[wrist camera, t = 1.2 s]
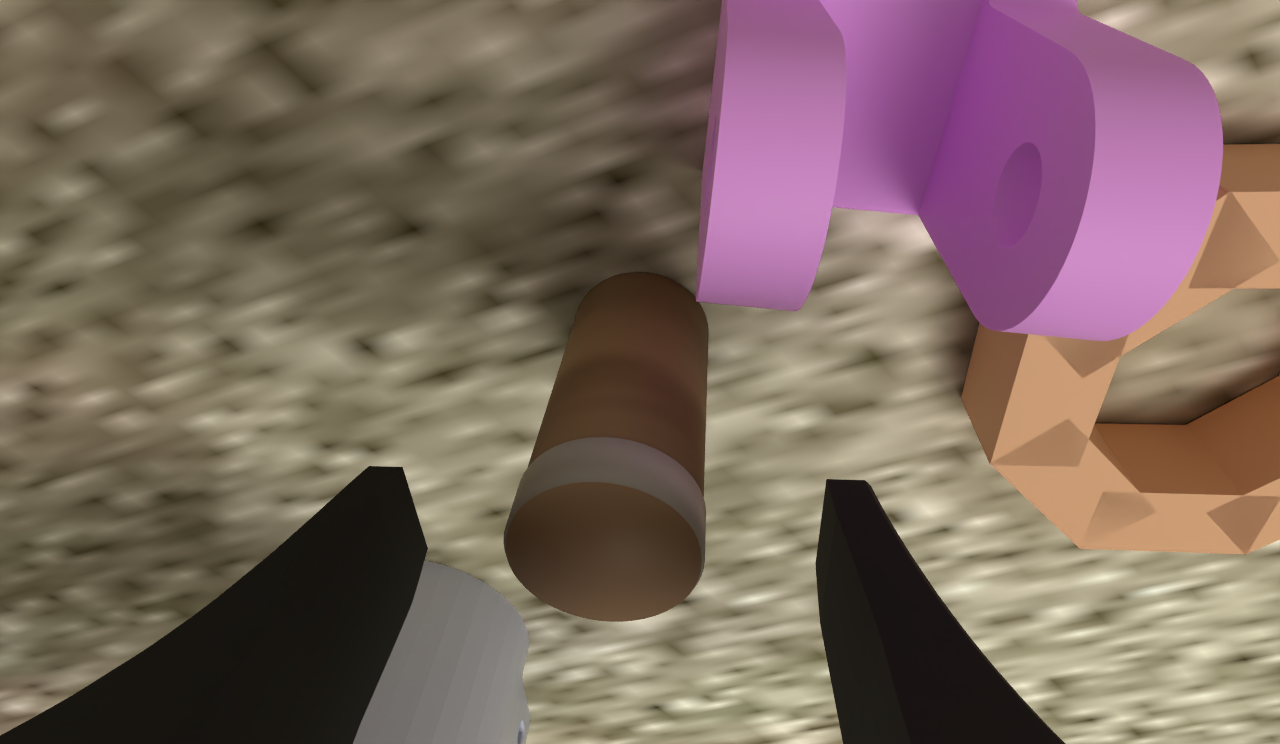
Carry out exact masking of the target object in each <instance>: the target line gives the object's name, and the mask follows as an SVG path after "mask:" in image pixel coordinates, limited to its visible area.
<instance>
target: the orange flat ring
mask: <svg viewBox="0 0 1280 744" xmlns="http://www.w3.org/2000/svg"><path fill="white" fill-rule="evenodd" d="M1234 288H1280V144H1231V145H1223V158H1222V171H1221V177H1220V184H1219V189H1218V194H1217V198H1216V203H1215V207H1214V210H1213V214H1212V217H1211V220H1210V223H1209V226H1208V229H1207V232H1206V234H1205V237H1204V240H1203V242H1202V244H1201V247H1200V249H1199V251H1198V253H1197V255H1196V258H1195V260H1194V261H1193V263H1192V265H1191V267H1190V269H1189V271H1188V273H1187V274H1186V276H1185V278H1184V279H1183V281H1182V282H1181V284H1180V285H1179V287H1178V288H1177V290H1176V291H1175V292H1174V294H1173V295H1172V296H1171V298H1170V299H1169V300H1168V302H1167V303H1166V304H1165V305H1164V306H1163V307H1162V308H1161V309H1160V310H1159V312H1158V313H1157V314H1156V315H1154V316H1153V317H1152V318H1151V319H1150V320H1149V321H1148V322H1147V323H1145V324H1144V325H1143V326H1141V327H1140V328H1139V329H1137V330H1135V331H1134V332H1132V333H1130V334H1128V335H1126V336H1124V337H1121V338H1118V339H1114V340H1110V341H1094V340H1083V339H1073V338H1063V337H1053V336H1043V335H1032V334H1022V333H1012V332H1002V331H994V330H990V329H988V328H986V327H984V326H983V325H982V324H980V323H979V327H978V331H977V335H976V339H975V343H974V347H973V351H972V355H971V359H970V363H969V368H968V372H967V376H966V380H965V384H964V388H963V392H962V396H961V399H962V402H963V404H964V406H965V409H966V411H967V413H968V415H969V418H970V420H971V422H972V425H973V427H974V429H975V431H976V434H977V436H978V438H979V440H980V443H981V445H982V447H983V450H984V452H985V454H986V456H987V459H988V461H989V463H990V465H992V466H993V467H994V468H995V469H996V470H997V471H998V472H999V473H1000V474H1001V475H1002V476H1004V477H1005V478H1006V479H1007V480H1008V481H1009V482H1010V483H1011V484H1012V485H1013V486H1014V487H1015V488H1016V489H1017V490H1018V491H1019V492H1021V493H1022V494H1023V495H1024V496H1025V497H1026V498H1027V499H1028V500H1029V501H1030V502H1031V503H1032V504H1033V505H1034V506H1035V507H1036V508H1037V509H1039V510H1040V511H1041V512H1042V513H1043V514H1044V515H1045V516H1046V517H1047V518H1048V519H1049V520H1050V521H1051V522H1052V523H1053V524H1054V525H1055V526H1057V527H1058V528H1059V529H1060V530H1061V531H1062V532H1063V533H1064V534H1065V535H1066V536H1067V537H1068V538H1069V539H1070V540H1071V541H1072V542H1074V543H1075V544H1076V545H1077V546H1078V548H1079V549H1108V550H1137V551H1167V552H1196V553H1225V554H1247V553H1250V552H1252V551H1254V550H1257V549H1259V548H1261V547H1263V546H1266V545H1268V544H1270V543H1273V542H1275V541H1277V540H1280V374H1279V376H1277V377H1276V378H1274V379H1272V380H1270V381H1268V382H1266V383H1264V384H1262V385H1260V386H1259V387H1257V388H1255V389H1253V390H1251V391H1249V392H1247V393H1245V394H1243V395H1242V396H1240V397H1238V398H1236V399H1234V400H1232V401H1230V402H1228V403H1226V404H1225V405H1223V406H1221V407H1219V408H1217V409H1215V410H1213V411H1211V412H1209V413H1208V414H1206V415H1204V416H1202V417H1200V418H1198V419H1196V420H1194V421H1192V422H1191V423H1189V424H1187V425H1155V424H1100V423H1095V422H1096V419H1097V416H1098V414H1099V411H1100V408H1101V406H1102V403H1103V401H1104V398H1105V395H1106V393H1107V390H1108V388H1109V385H1110V382H1111V380H1112V377H1113V375H1114V372H1115V369H1116V367H1117V364H1118V361H1119V359H1120V356H1121V355H1123V354H1125V353H1126V352H1128V351H1130V350H1132V349H1133V348H1135V347H1137V346H1138V345H1140V344H1142V343H1143V342H1145V341H1147V340H1148V339H1150V338H1152V337H1153V336H1155V335H1157V334H1158V333H1160V332H1162V331H1163V330H1165V329H1167V328H1168V327H1170V326H1172V325H1173V324H1175V323H1177V322H1178V321H1180V320H1182V319H1183V318H1185V317H1187V316H1188V315H1190V314H1192V313H1193V312H1195V311H1197V310H1198V309H1200V308H1202V307H1203V306H1205V305H1207V304H1209V303H1210V302H1212V301H1214V300H1215V299H1217V298H1219V297H1220V296H1222V295H1224V294H1225V293H1227V292H1229V291H1230V290H1232V289H1234Z"/></svg>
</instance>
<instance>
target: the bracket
mask: <svg viewBox="0 0 1280 744" xmlns="http://www.w3.org/2000/svg"><path fill="white" fill-rule="evenodd" d="M1222 158H1223V131H1222V121H1221V115H1220V111H1219V106H1218V102H1217V99H1216V96H1215V93H1214V91H1213V89H1212V87H1211V85H1210V83H1209V81H1208V80H1207V78H1206V77H1205V76H1204V74H1203V73H1202V72H1201V71H1200V70H1199V69H1198V68H1197V67H1196V66H1195V65H1193V64H1192V63H1190V62H1188V61H1186V60H1184V59H1182V58H1180V57H1177V56H1175V55H1173V54H1171V53H1168V52H1166V51H1164V50H1161V49H1159V48H1157V47H1155V46H1152V45H1150V44H1148V43H1146V42H1143V41H1141V40H1139V39H1137V38H1134V37H1132V36H1130V35H1127V34H1125V33H1123V32H1121V31H1118V30H1116V29H1114V28H1112V27H1109V26H1107V25H1105V24H1102V23H1100V22H1098V21H1096V20H1093V19H1091V18H1089V17H1087V16H1084V15H1082V14H1081V13H1080V12H1079V10H1078V8H1077V0H722V5H721V13H720V22H719V31H718V40H717V49H716V57H715V66H714V75H713V84H712V92H711V101H710V110H709V119H708V128H707V136H706V145H705V154H704V163H703V172H702V189H701V207H700V225H699V244H698V262H697V280H696V302H706V303H717V304H727V305H737V306H747V307H757V308H768V309H778V310H788V311H798V310H799V309H800V308H801V307H802V306H803V304H804V303H805V301H806V299H807V297H808V295H809V292H810V290H811V287H812V285H813V282H814V279H815V276H816V273H817V270H818V266H819V263H820V259H821V256H822V252H823V248H824V244H825V239H826V235H827V231H828V226H829V221H830V216H831V211H832V207H837V208H848V209H858V210H869V211H880V212H891V213H901V214H912V215H919V217H920V219H921V221H922V222H923V224H924V226H925V228H926V230H927V231H928V233H929V235H930V237H931V239H932V240H933V242H934V244H935V246H936V248H937V250H938V251H939V253H940V255H941V257H942V259H943V260H944V262H945V264H946V266H947V268H948V269H949V271H950V273H951V275H952V277H953V279H954V280H955V282H956V284H957V286H958V288H959V289H960V291H961V293H962V295H963V297H964V298H965V300H966V302H967V304H968V306H969V308H970V309H971V311H972V313H973V315H974V316H975V318H976V319H977V320H978V321H979V322H980V324H982V325H983V326H984V327H986V328H988V329H990V330H994V331H1002V332H1012V333H1022V334H1032V335H1043V336H1053V337H1063V338H1073V339H1083V340H1094V341H1110V340H1114V339H1118V338H1121V337H1124V336H1126V335H1128V334H1130V333H1132V332H1134V331H1135V330H1137V329H1139V328H1140V327H1141V326H1143V325H1144V324H1145V323H1147V322H1148V321H1149V320H1150V319H1151V318H1152V317H1153V316H1154V315H1156V314H1157V313H1158V312H1159V310H1160V309H1161V308H1162V307H1163V306H1164V305H1165V304H1166V303H1167V302H1168V300H1169V299H1170V298H1171V296H1172V295H1173V294H1174V292H1175V291H1176V290H1177V288H1178V287H1179V285H1180V284H1181V282H1182V281H1183V279H1184V278H1185V276H1186V274H1187V273H1188V271H1189V269H1190V267H1191V265H1192V263H1193V261H1194V260H1195V258H1196V255H1197V253H1198V251H1199V249H1200V247H1201V244H1202V242H1203V240H1204V237H1205V234H1206V232H1207V229H1208V226H1209V223H1210V220H1211V217H1212V214H1213V210H1214V207H1215V203H1216V198H1217V194H1218V189H1219V184H1220V177H1221V171H1222Z"/></svg>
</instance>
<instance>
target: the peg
mask: <svg viewBox="0 0 1280 744" xmlns="http://www.w3.org/2000/svg"><path fill="white" fill-rule="evenodd" d="M707 365H708V323H707V319H706V316H705V313H704V311H703V309H702V307H701V305H700V304H699V302H696V298H695V297H694V296H693V295H692V294H691V293H690V292H689V291H688V290H687V289H685V288H684V287H683V286H682V285H680V284H678V283H677V282H675V281H673V280H671V279H668V278H666V277H663V276H660V275H657V274H651V273H642V272H634V273H625V274H620V275H617V276H614V277H611V278H609V279H606V280H604V281H603V282H601V283H599V284H598V285H596V286H595V287H594V288H593V289H592V290H591V291H590V292H589V293H588V294H587V295H586V296H585V298H584V299H583V301H582V302H581V304H580V306H579V309H578V311H577V314H576V318H575V321H574V324H573V327H572V330H571V333H570V336H569V340H568V343H567V346H566V349H565V352H564V355H563V358H562V362H561V365H560V368H559V371H558V374H557V377H556V380H555V383H554V387H553V390H552V393H551V396H550V399H549V402H548V405H547V409H546V412H545V415H544V418H543V421H542V424H541V427H540V431H539V434H538V437H537V440H536V443H535V446H534V449H533V453H532V456H531V459H530V462H529V465H528V468H527V470H526V471H525V472H524V474H523V476H522V479H521V481H520V484H519V487H518V490H517V493H516V496H515V499H514V502H513V505H512V508H511V512H510V515H509V518H508V521H507V524H506V528H505V532H504V548H505V553H506V556H507V559H508V562H509V565H510V567H511V569H512V571H513V573H514V574H515V576H516V577H517V579H518V580H519V581H520V582H521V583H522V584H523V586H524V587H525V588H526V589H528V590H529V591H530V592H531V593H532V594H533V595H535V596H536V597H537V598H539V599H540V600H542V601H543V602H545V603H547V604H549V605H550V606H552V607H554V608H557V609H559V610H561V611H563V612H566V613H569V614H572V615H575V616H579V617H583V618H587V619H593V620H599V621H633V620H639V619H645V618H648V617H652V616H655V615H658V614H661V613H663V612H665V611H667V610H669V609H671V608H673V607H675V606H676V605H677V604H679V603H680V602H682V601H683V600H684V599H685V598H686V597H687V596H688V595H689V594H690V593H691V591H692V590H693V589H694V587H695V586H696V585H697V583H698V581H699V579H700V577H701V575H702V572H703V569H704V562H705V534H706V507H705V502H704V466H705V432H706V399H707Z"/></svg>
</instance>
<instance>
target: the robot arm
mask: <svg viewBox="0 0 1280 744" xmlns="http://www.w3.org/2000/svg"><path fill="white" fill-rule="evenodd" d="M427 549H428V548H427V545H426V541H425V538H424V535H423V532H422V528H421V525H420V522H419V519H418V516H417V512H416V509H415V506H414V503H413V499H412V496H411V493H410V490H409V487H408V483H407V480H406V477H405V474H404V470H403V467H378V466H369V467H368V468H366V469H365V470H364V471H363V472H362V473H361V474H359V475H358V476H357V477H356V478H355V479H354V480H353V481H352V482H350V483H349V484H348V485H347V486H346V487H345V488H344V489H343V490H342V491H341V492H339V493H338V494H337V495H336V496H335V497H334V498H333V499H332V500H331V501H330V502H328V503H327V504H326V505H325V506H324V507H323V508H322V509H321V510H320V511H319V512H317V513H316V514H315V515H314V516H313V517H312V518H311V519H310V520H309V521H308V522H306V523H305V524H304V525H303V526H302V527H301V528H300V529H298V530H297V531H296V532H295V533H294V534H293V535H292V536H291V537H289V538H288V539H287V540H286V541H285V542H284V543H283V544H282V545H280V546H279V547H278V548H277V549H276V550H275V551H274V552H272V553H271V554H270V555H269V556H268V557H267V558H265V559H264V560H263V561H262V562H260V563H259V564H258V565H257V566H256V567H254V568H253V569H252V570H251V571H249V572H248V573H247V574H246V575H245V576H243V577H242V578H241V579H240V580H238V581H237V582H236V583H235V584H234V585H232V586H231V587H230V588H229V589H227V590H226V591H225V592H224V593H223V594H221V595H220V596H219V597H218V598H216V599H215V600H214V601H212V602H211V603H210V604H208V605H207V606H206V607H205V608H203V609H202V610H200V611H199V612H198V613H196V614H195V615H194V616H192V617H191V618H190V619H188V620H187V621H186V622H184V623H183V624H181V625H180V626H178V627H177V628H176V629H174V630H173V631H171V632H170V633H169V634H167V635H166V636H164V637H163V638H161V639H160V640H159V641H157V642H156V643H154V644H153V645H151V646H150V647H148V648H147V649H145V650H144V651H142V652H141V653H139V654H138V655H136V656H135V657H133V658H131V659H130V660H128V661H127V662H125V663H123V664H122V665H120V666H119V667H117V668H115V669H114V670H112V671H111V672H109V673H108V674H106V675H104V676H103V677H101V678H100V679H98V680H96V681H95V682H93V683H92V684H90V685H89V686H87V687H85V688H84V689H82V690H81V691H79V692H77V693H76V694H74V695H72V696H70V697H69V698H67V699H65V700H64V701H62V702H60V703H58V704H57V705H55V706H53V707H51V708H50V709H48V710H46V711H44V712H43V713H41V714H39V715H37V716H36V717H34V718H32V719H30V720H28V721H26V722H25V723H23V724H21V725H19V726H17V727H15V728H13V729H12V730H10V731H8V732H6V733H4V734H2V735H1V736H0V744H525V743H526V738H527V734H528V729H529V724H530V712H529V708H528V704H527V699H526V695H525V691H524V686H523V679H522V676H523V669H524V665H525V661H526V657H527V653H528V648H529V638H528V632H527V629H526V627H525V624H524V622H523V619H522V618H521V616H520V615H519V614H518V612H517V611H516V609H515V608H514V606H512V605H511V604H510V603H509V602H508V601H507V600H506V599H505V598H504V597H503V596H502V595H501V594H500V593H499V592H497V591H496V590H494V589H493V588H491V587H490V586H489V585H487V584H486V583H484V582H482V581H481V580H479V579H477V578H475V577H473V576H471V575H469V574H467V573H465V572H462V571H459V570H457V569H454V568H451V567H449V566H446V565H442V564H438V563H434V562H429V561H425V556H426V553H427ZM816 576H817V589H818V602H819V614H820V624H821V630H822V635H823V640H824V646H825V651H826V656H827V662H828V667H829V672H830V677H831V682H832V688H833V693H834V698H835V703H836V708H837V714H838V719H839V724H840V729H841V734H842V740H843V744H1065V743H1064V742H1063V741H1062V740H1061V739H1060V738H1059V737H1058V736H1057V735H1056V734H1055V733H1054V732H1053V731H1052V730H1051V729H1050V728H1049V727H1048V726H1047V725H1046V724H1045V723H1044V721H1043V720H1042V719H1041V718H1040V717H1039V716H1038V715H1037V714H1036V713H1035V712H1034V711H1033V710H1032V709H1031V708H1030V706H1029V705H1028V704H1027V703H1026V702H1025V701H1024V700H1023V699H1022V698H1021V697H1020V696H1019V695H1018V693H1017V692H1016V691H1015V690H1014V689H1013V688H1012V687H1011V686H1010V684H1009V683H1008V682H1007V681H1006V680H1005V679H1004V678H1003V676H1002V675H1001V674H1000V673H999V672H998V671H997V670H996V668H995V667H994V666H993V665H992V664H991V662H990V661H989V660H988V659H987V658H986V656H985V655H984V654H983V653H982V652H981V650H980V649H979V648H978V647H977V645H976V644H975V643H974V642H973V640H972V639H971V638H970V637H969V635H968V634H967V633H966V631H965V630H964V629H963V628H962V626H961V625H960V624H959V622H958V621H957V620H956V618H955V617H954V616H953V615H952V613H951V612H950V610H949V609H948V608H947V606H946V605H945V604H944V602H943V601H942V599H941V598H940V597H939V595H938V594H937V593H936V591H935V590H934V588H933V587H932V585H931V584H930V582H929V581H928V579H927V578H926V576H925V575H924V574H923V572H922V571H921V569H920V568H919V566H918V565H917V563H916V562H915V560H914V559H913V557H912V556H911V554H910V553H909V551H908V550H907V548H906V546H905V545H904V543H903V542H902V540H901V538H900V537H899V535H898V533H897V532H896V530H895V529H894V527H893V525H892V523H891V522H890V520H889V518H888V517H887V515H886V513H885V511H884V510H883V508H882V506H881V504H880V502H879V501H878V499H877V497H876V495H875V493H874V491H873V489H872V487H871V486H870V485H869V484H868V483H867V482H866V481H865V480H833V479H827V480H826V488H825V496H824V503H823V511H822V519H821V526H820V534H819V542H818V550H817V557H816Z"/></svg>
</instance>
